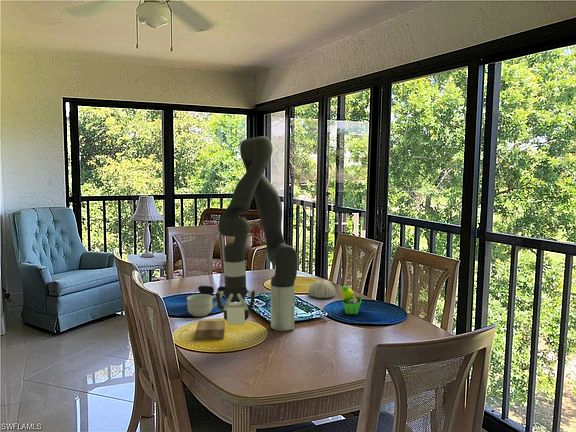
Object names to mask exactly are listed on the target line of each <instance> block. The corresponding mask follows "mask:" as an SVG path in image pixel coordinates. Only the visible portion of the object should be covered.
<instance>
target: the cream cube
mask: <svg viewBox="0 0 576 432" xmlns="http://www.w3.org/2000/svg"><path fill="white" fill-rule="evenodd" d="M226 325H227V326H232V325H233V326H235V325H236V326H238V325H246V320H245V308H244V306H243V305H242V303H241V302H230V304H229V306H228V307H227V321H226Z"/></svg>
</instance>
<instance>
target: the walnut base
mask: <svg viewBox="0 0 576 432" xmlns="http://www.w3.org/2000/svg"><path fill="white" fill-rule="evenodd" d="M225 327H226V319H223V320H221V319H219V320H198V322H197V325H196V329H195V332H196V333H195V340H224V338H225V333H226V328H225Z"/></svg>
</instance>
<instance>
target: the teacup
mask: <svg viewBox="0 0 576 432" xmlns="http://www.w3.org/2000/svg"><path fill="white" fill-rule="evenodd" d="M214 299H216V294H214V295H212V294H201V293H199V294H194V295H193V294H192V295H188V296H187V297H186V303H187V311H188V313H189V314H190V315H191V316H193V317H205V316H208V315H209V313H211V312H212V310H213V308H214V307H215V306H218V304H217V300H216V302H214V303H213V300H214Z"/></svg>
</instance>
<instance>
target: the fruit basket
mask: <svg viewBox="0 0 576 432" xmlns="http://www.w3.org/2000/svg"><path fill="white" fill-rule="evenodd" d="M340 292H341V298H342V299H343V301H342V305H343V308H344V313H345V314H346V315H347V314H349V315H358V313H359V309H360V306H361V303H362V297H361V296H354V294H355V292H354V290H352V289H351V288H349V286H348V285H343V286H342V287H341V289H340Z"/></svg>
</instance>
